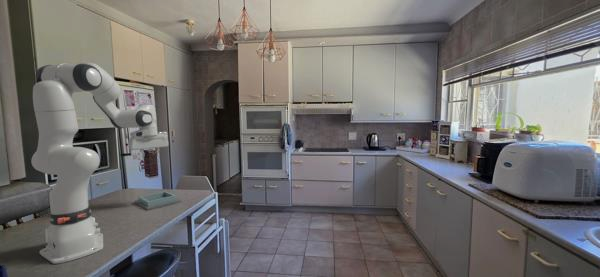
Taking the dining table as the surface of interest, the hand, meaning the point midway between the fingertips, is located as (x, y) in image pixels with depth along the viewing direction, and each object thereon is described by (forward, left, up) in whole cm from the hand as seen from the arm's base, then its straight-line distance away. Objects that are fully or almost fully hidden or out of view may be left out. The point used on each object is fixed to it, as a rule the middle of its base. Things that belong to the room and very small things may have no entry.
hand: (150, 156), depth 149 cm
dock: (-1, -2, -28) cm, 28 cm away
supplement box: (0, 0, -13) cm, 13 cm away
